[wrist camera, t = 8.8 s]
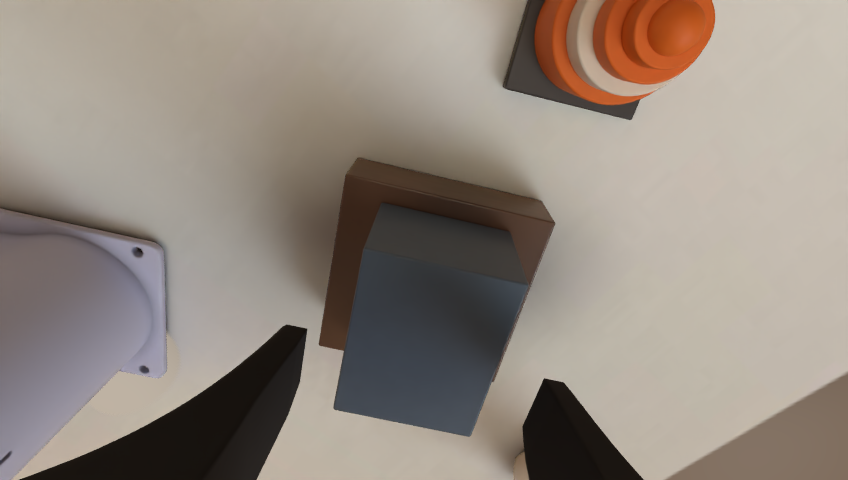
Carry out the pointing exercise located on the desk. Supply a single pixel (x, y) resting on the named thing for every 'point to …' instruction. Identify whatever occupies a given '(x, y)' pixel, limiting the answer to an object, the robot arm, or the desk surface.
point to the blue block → (429, 320)
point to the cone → (606, 50)
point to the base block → (430, 195)
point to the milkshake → (520, 468)
